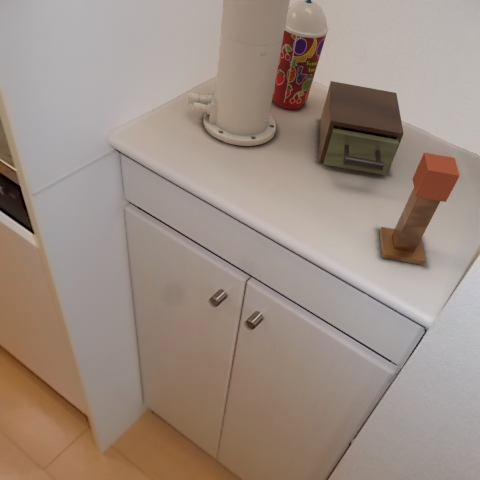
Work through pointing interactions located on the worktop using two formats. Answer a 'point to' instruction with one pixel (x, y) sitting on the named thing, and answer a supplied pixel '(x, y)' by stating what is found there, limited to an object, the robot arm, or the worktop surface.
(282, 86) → the smoothie
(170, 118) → the worktop surface
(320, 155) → the cabinet
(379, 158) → the drawer
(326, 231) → the worktop surface
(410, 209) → the stand
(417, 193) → the block
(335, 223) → the worktop surface
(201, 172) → the worktop surface
